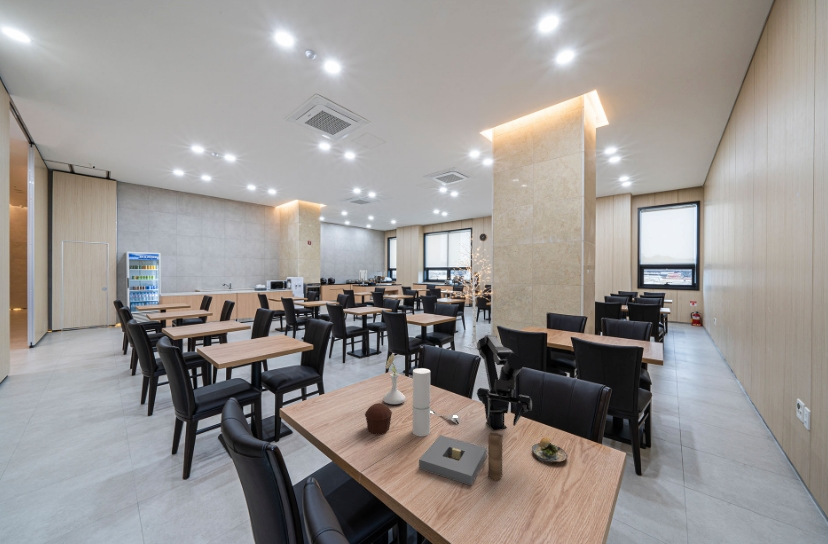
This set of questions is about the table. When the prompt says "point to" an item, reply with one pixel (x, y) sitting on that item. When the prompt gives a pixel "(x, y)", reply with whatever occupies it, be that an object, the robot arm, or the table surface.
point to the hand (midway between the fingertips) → (500, 422)
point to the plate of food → (548, 452)
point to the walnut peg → (495, 456)
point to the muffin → (378, 418)
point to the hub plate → (450, 468)
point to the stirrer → (452, 417)
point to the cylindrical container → (421, 402)
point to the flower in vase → (393, 386)
